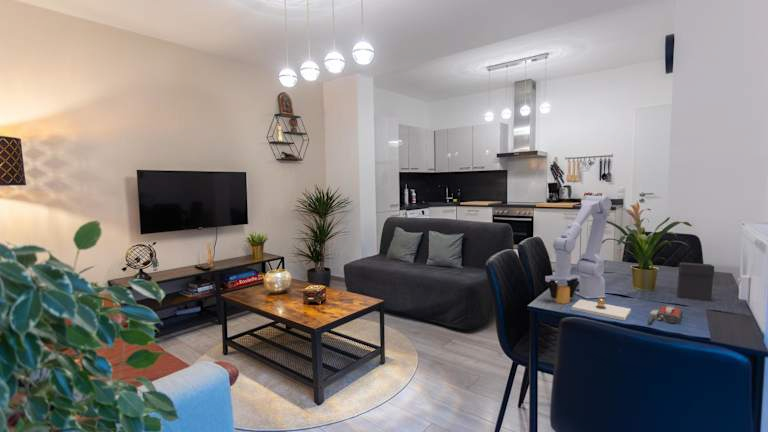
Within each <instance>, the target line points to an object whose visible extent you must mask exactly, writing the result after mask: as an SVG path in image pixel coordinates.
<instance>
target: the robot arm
mask: <svg viewBox="0 0 768 432" xmlns="http://www.w3.org/2000/svg"><path fill="white" fill-rule="evenodd" d="M612 203H613V202H612V201H611V199H610V197H609V196H608V195H589V194H586V195H585V196H583V198H582V199H581V201H580V209H579V210H578V212H577V214H576V217H575V218H574V220H573V221H572V222H569V223H568V224H567V225H566V227H565V229H563V231H562V233H561V235H560V236H558V237H556V238H554V241H553V243H552V248H553V249H554V253H555V272H554V273H555V274H552V275H551V274H550V275H545V276H544V277H545V278H544V279H545V280H544V281H545V282H546V285H547V287H548V289H549V292H550V296H551V298H552V299H553V300H554V299H556V290H557V286H558V284H559V283H557V282H562V281H563V282H566V284H567V286H569V287H570V299H572V298H573V297H574V294H575V295H578V296H580V297H583V299H598V298H603V299H604V298H607V296H606V281H605V278H604V277H603V274H604V271H605V266H604V265H605V260H604V259H603V258H602V257H601V256H600V252H601V249H602V243H603V238H604V235H605V234H604V233H605V230H606V225H607V221H608V217H610V213H611V209H612V208H611V207H612ZM590 216H591V217H592V222H591V226H590V231H589V235H588V240H587V245H586V249H585V252H584V253H581V254H580V255H579V257H578V259H577V262H576V263H575V270H576V272H577V273H578V274H571V266H572V264H571V263H572V252H573V251H574V250H575V248H576V243H577V239H578V238H579V236H580V235H581V233H582V231H583V228H582V226H583V224H585V222H586V221H587V220H588V219H589V218H590ZM578 286H579V291H576V289H577V288H578Z"/></svg>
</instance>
